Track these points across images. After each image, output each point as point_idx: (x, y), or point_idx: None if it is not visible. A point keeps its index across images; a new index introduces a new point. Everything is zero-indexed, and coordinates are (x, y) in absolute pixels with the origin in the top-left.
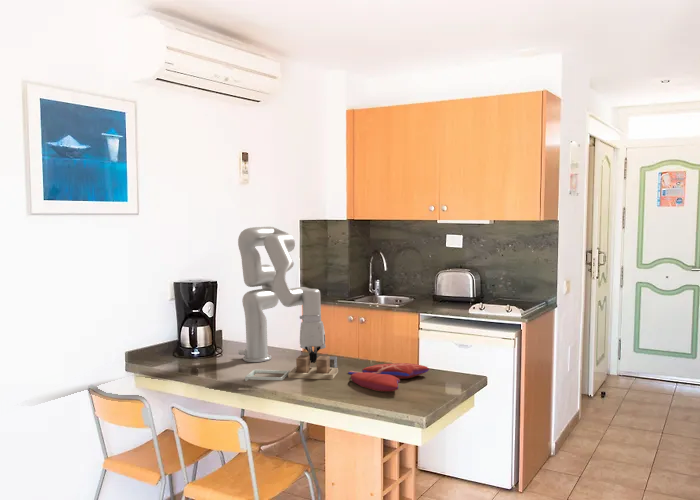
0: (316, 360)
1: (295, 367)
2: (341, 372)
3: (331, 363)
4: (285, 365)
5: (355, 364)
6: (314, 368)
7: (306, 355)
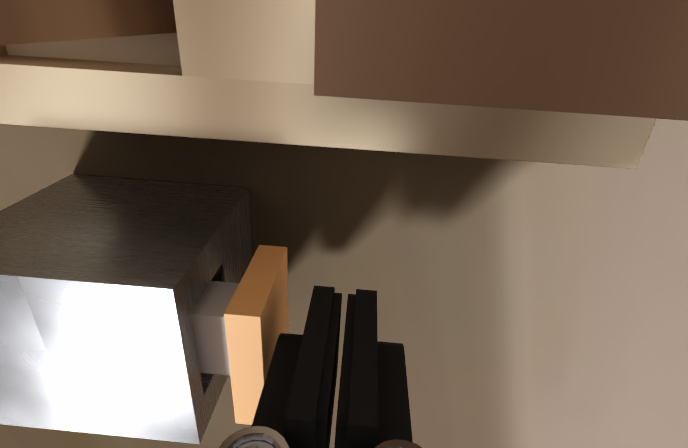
0: (266, 300)
1: (638, 120)
2: (7, 197)
3: (15, 233)
4: (679, 430)
5: (26, 431)
6: (267, 62)
7: (457, 94)
